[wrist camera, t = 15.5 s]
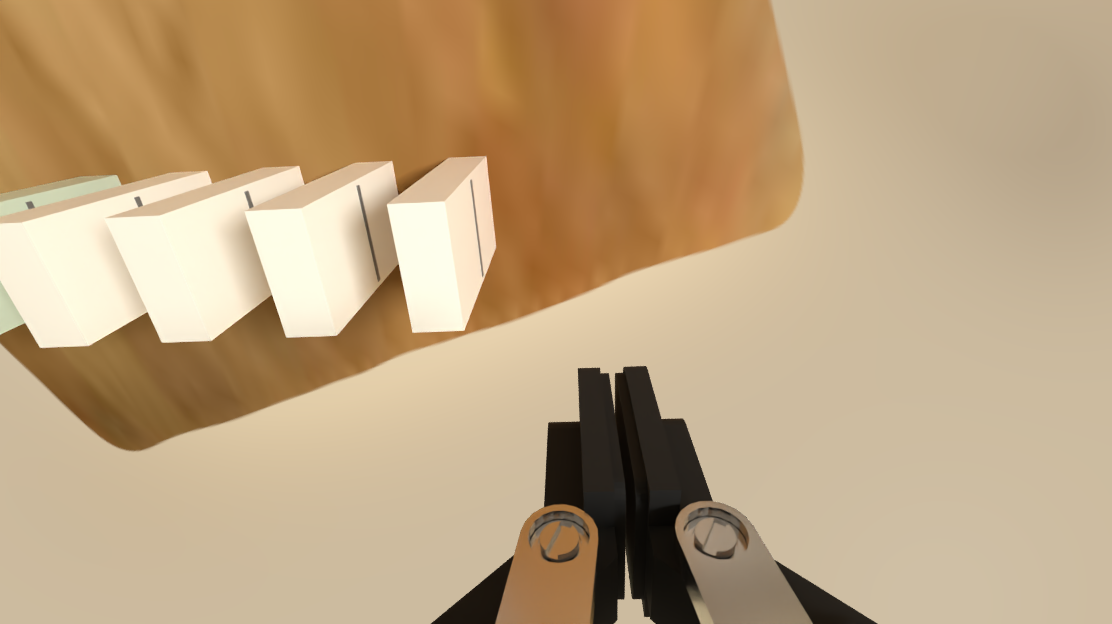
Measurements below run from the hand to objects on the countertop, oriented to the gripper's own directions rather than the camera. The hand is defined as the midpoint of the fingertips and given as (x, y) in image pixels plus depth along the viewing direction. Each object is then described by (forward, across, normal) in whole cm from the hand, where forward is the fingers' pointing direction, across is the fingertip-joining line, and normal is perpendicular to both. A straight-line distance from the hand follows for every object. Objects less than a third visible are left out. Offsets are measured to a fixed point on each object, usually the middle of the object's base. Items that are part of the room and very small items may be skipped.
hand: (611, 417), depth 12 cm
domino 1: (+22, +25, 0) cm, 34 cm away
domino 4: (+22, +7, 0) cm, 23 cm away
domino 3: (+22, +13, 0) cm, 26 cm away
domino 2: (+22, +19, 0) cm, 29 cm away
